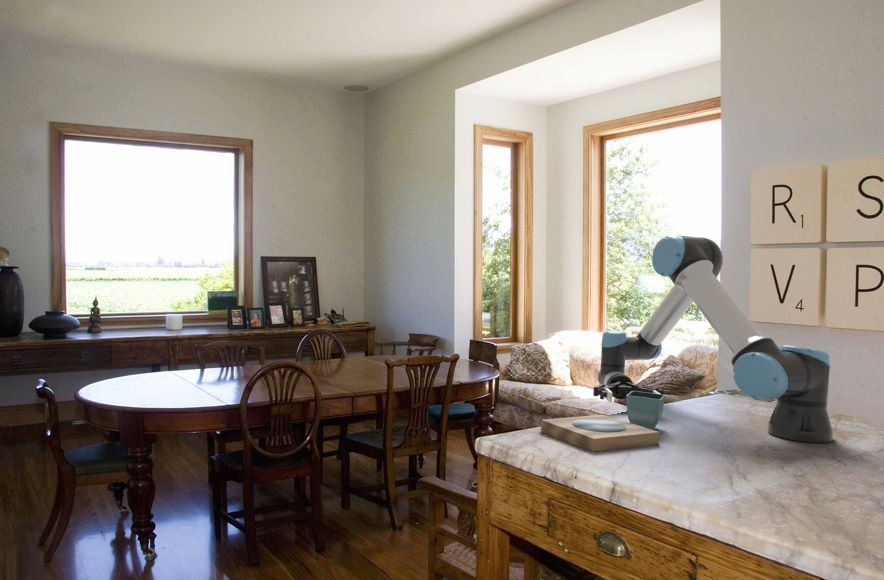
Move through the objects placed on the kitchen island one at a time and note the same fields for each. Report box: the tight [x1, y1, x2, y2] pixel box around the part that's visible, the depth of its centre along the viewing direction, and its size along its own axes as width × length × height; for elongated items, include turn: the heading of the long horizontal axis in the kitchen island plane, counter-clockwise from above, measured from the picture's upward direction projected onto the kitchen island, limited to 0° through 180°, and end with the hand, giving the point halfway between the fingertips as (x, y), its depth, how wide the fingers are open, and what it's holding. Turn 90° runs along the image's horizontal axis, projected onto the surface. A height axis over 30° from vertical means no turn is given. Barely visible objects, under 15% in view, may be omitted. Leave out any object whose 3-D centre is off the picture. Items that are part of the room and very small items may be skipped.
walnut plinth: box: [540, 414, 661, 452], centre depth 170 cm, size 20×20×3 cm
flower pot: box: [626, 391, 666, 430], centre depth 182 cm, size 9×9×9 cm
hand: (635, 398), depth 192 cm, fingers open, 13 cm apart
